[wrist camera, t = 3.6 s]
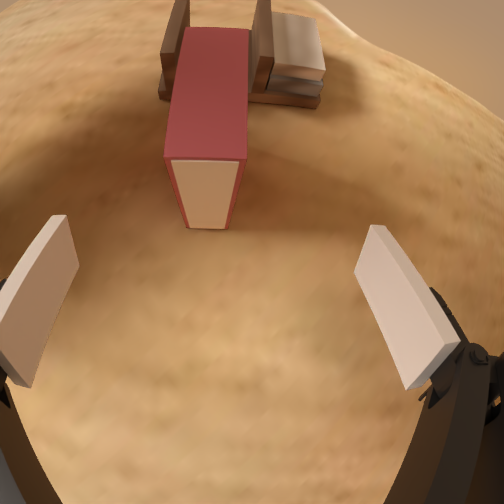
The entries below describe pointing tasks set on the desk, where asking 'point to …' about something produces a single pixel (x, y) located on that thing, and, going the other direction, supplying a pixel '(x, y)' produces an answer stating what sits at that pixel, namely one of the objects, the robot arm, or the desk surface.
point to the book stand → (261, 56)
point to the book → (208, 124)
